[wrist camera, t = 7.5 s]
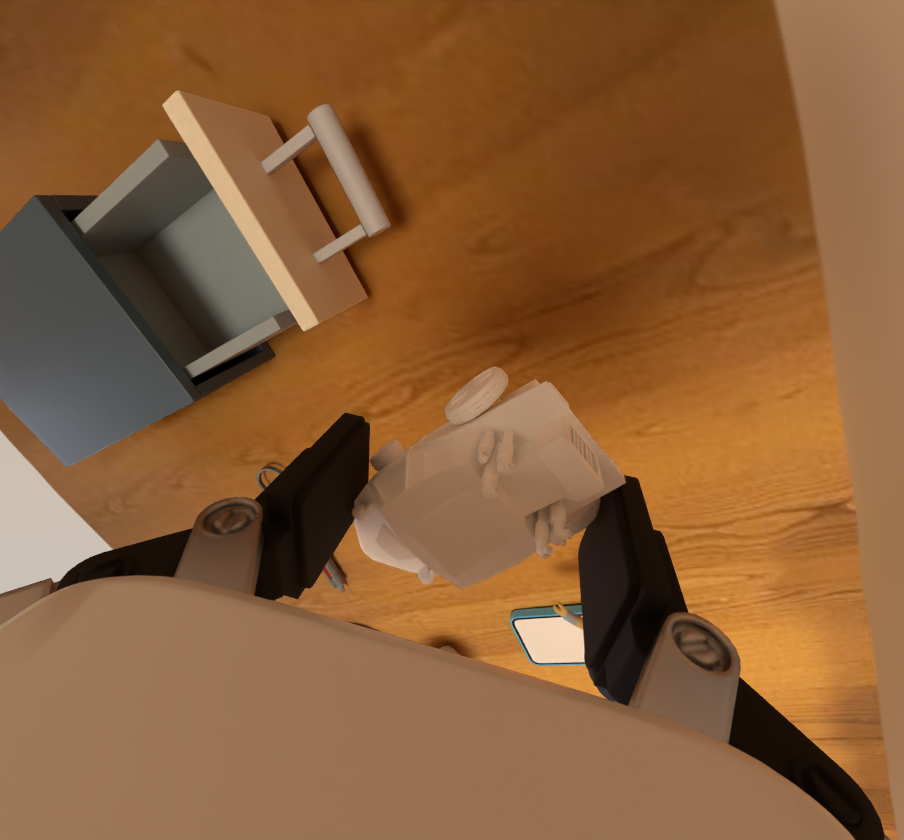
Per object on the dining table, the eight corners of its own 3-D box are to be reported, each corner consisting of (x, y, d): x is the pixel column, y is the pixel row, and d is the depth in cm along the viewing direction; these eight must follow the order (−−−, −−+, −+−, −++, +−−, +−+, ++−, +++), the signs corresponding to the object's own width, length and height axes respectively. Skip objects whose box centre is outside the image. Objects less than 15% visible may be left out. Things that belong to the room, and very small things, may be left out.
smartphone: (507, 617, 40) (675, 606, 34) (508, 607, 41) (672, 594, 35) (531, 665, 43) (691, 663, 37) (532, 655, 44) (688, 650, 38)
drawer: (332, 61, 22) (252, 11, 16) (430, 264, 26) (394, 284, 20) (128, 234, 29) (23, 243, 24) (227, 372, 33) (158, 409, 27)
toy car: (635, 461, 12) (671, 577, 8) (435, 559, 15) (399, 668, 12) (535, 330, 11) (525, 397, 7) (345, 469, 14) (275, 560, 11)
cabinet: (169, 195, 28) (33, 194, 21) (275, 356, 33) (194, 402, 25) (57, 291, 34) (-80, 317, 27) (159, 416, 39) (66, 468, 31)
